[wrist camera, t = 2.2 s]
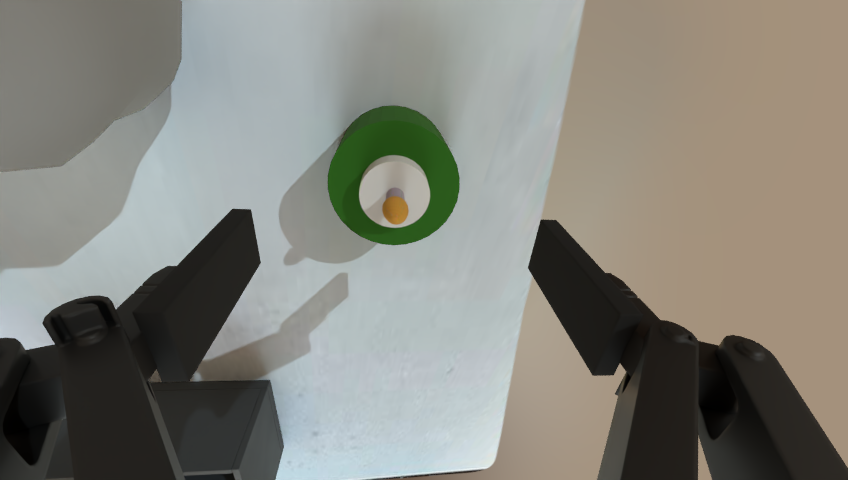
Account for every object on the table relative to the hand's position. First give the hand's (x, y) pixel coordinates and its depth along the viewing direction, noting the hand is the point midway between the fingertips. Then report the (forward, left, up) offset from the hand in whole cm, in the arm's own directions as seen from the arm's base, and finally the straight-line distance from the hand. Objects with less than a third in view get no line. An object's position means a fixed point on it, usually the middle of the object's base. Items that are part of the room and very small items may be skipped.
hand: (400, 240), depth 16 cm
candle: (0, 0, -12) cm, 12 cm away
